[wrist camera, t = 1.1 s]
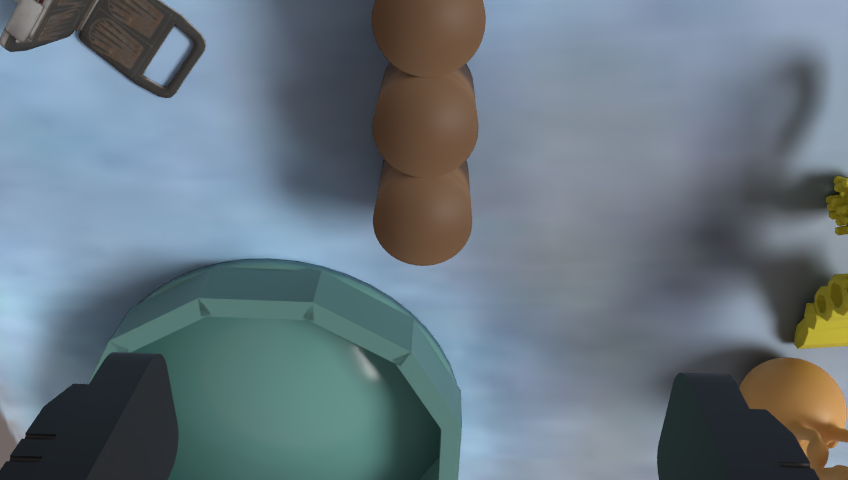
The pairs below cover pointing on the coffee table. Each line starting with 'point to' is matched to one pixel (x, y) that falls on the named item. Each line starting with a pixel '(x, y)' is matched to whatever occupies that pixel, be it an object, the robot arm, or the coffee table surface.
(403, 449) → the tray
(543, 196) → the coffee table surface
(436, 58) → the brown triple cylinder block
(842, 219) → the decorative insect
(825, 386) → the figurine
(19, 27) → the strap clip
